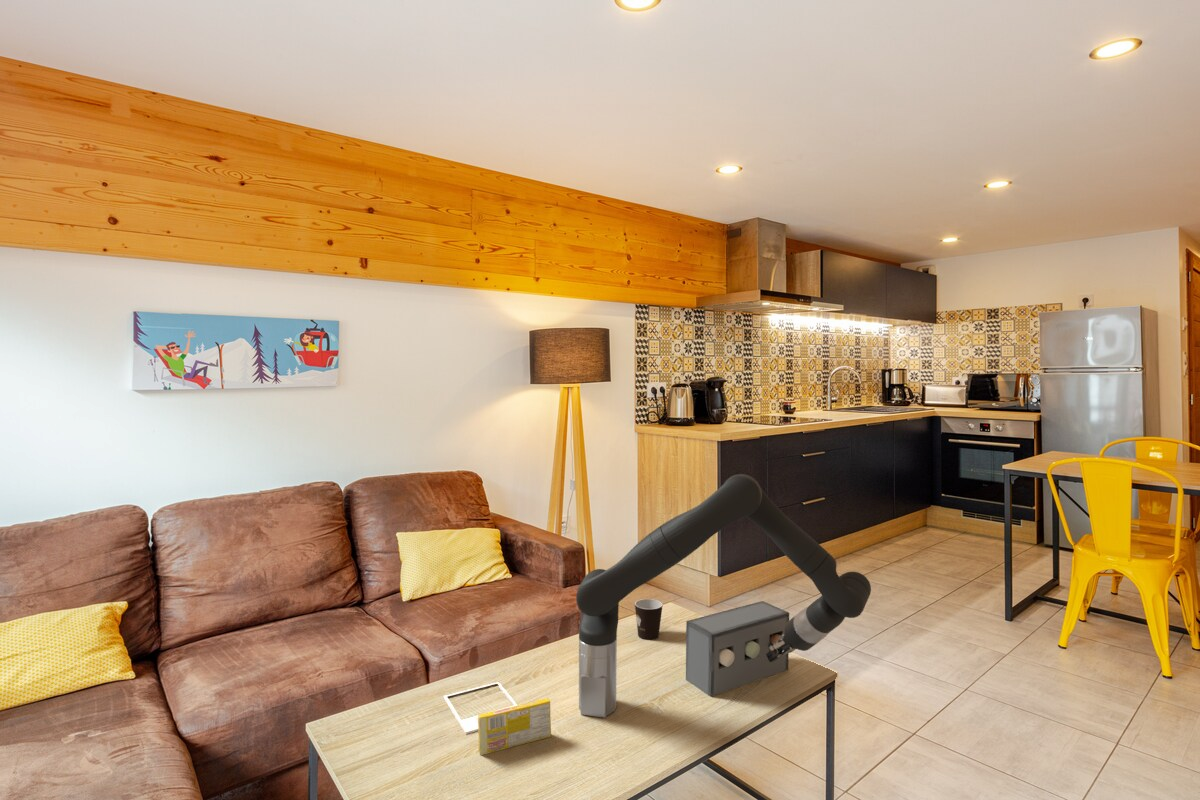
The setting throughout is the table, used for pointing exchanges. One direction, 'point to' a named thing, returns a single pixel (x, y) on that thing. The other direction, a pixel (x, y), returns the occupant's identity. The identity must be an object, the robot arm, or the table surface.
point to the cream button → (726, 657)
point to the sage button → (752, 649)
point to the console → (733, 647)
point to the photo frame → (472, 722)
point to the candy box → (514, 726)
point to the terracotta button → (773, 638)
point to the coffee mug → (648, 618)
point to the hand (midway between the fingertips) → (769, 657)
